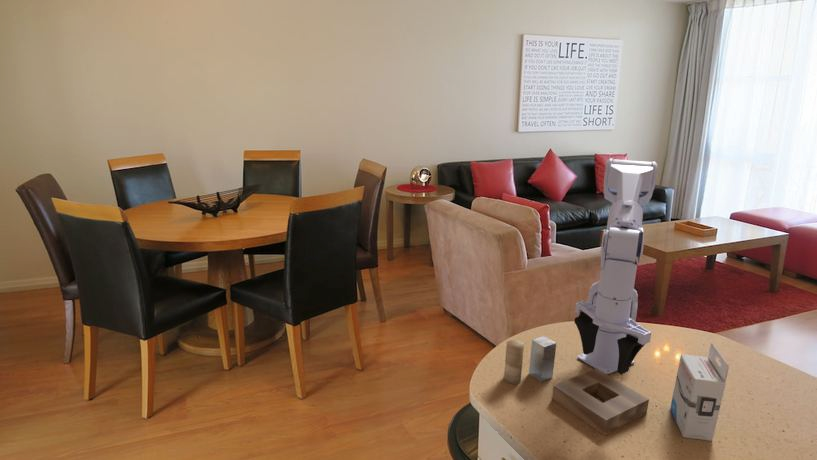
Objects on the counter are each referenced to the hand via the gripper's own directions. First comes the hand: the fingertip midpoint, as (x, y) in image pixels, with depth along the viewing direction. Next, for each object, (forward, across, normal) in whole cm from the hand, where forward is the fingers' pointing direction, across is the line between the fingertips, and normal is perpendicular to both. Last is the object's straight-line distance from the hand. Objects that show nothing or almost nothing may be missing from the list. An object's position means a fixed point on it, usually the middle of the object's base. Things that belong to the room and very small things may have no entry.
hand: (604, 362), depth 95 cm
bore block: (+9, 0, 0) cm, 9 cm away
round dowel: (+9, -15, -8) cm, 19 cm away
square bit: (+9, -13, -2) cm, 16 cm away
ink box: (+10, +12, +10) cm, 18 cm away
